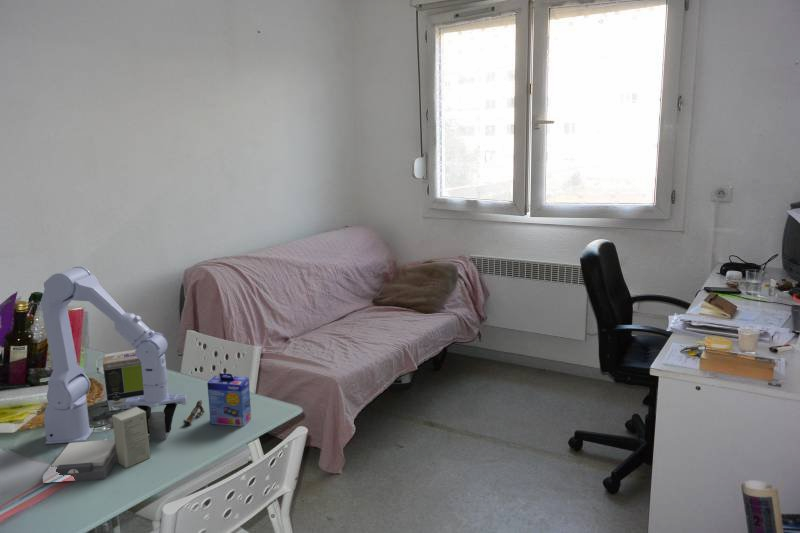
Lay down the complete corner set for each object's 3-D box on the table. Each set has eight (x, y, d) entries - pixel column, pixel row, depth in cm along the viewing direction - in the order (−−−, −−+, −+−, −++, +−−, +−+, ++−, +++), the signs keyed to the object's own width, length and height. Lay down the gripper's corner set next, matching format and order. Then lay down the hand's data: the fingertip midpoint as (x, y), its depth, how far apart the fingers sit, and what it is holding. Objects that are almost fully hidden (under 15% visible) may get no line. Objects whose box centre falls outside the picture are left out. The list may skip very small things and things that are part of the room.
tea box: (162, 391, 182) (159, 345, 179) (164, 403, 173) (160, 355, 170) (108, 399, 176) (103, 352, 173) (107, 413, 167) (102, 363, 164)
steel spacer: (149, 440, 151) (147, 419, 149) (153, 433, 154) (151, 412, 153) (166, 439, 151) (164, 417, 150) (169, 432, 155) (167, 411, 154)
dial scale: (42, 484, 131) (40, 470, 131) (67, 452, 145) (65, 440, 144) (104, 479, 133) (103, 466, 133) (123, 448, 147) (122, 436, 146)
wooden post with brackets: (208, 409, 167) (203, 398, 164) (193, 432, 160) (188, 420, 158) (202, 408, 167) (197, 397, 165) (188, 431, 161) (182, 420, 158)
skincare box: (141, 452, 145) (137, 405, 143) (151, 458, 142) (146, 410, 140) (116, 462, 140) (111, 414, 138) (125, 468, 137) (120, 420, 135)
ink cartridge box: (208, 425, 159) (205, 374, 156) (218, 416, 165) (214, 366, 162) (243, 427, 158) (240, 376, 155) (251, 418, 163) (249, 368, 160)
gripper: (120, 389, 145) (125, 441, 147) (181, 386, 147) (185, 436, 150) (128, 379, 152) (133, 428, 154) (187, 375, 154) (191, 424, 157)
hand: (159, 431), depth 152 cm, fingers closed on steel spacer, 4 cm apart
